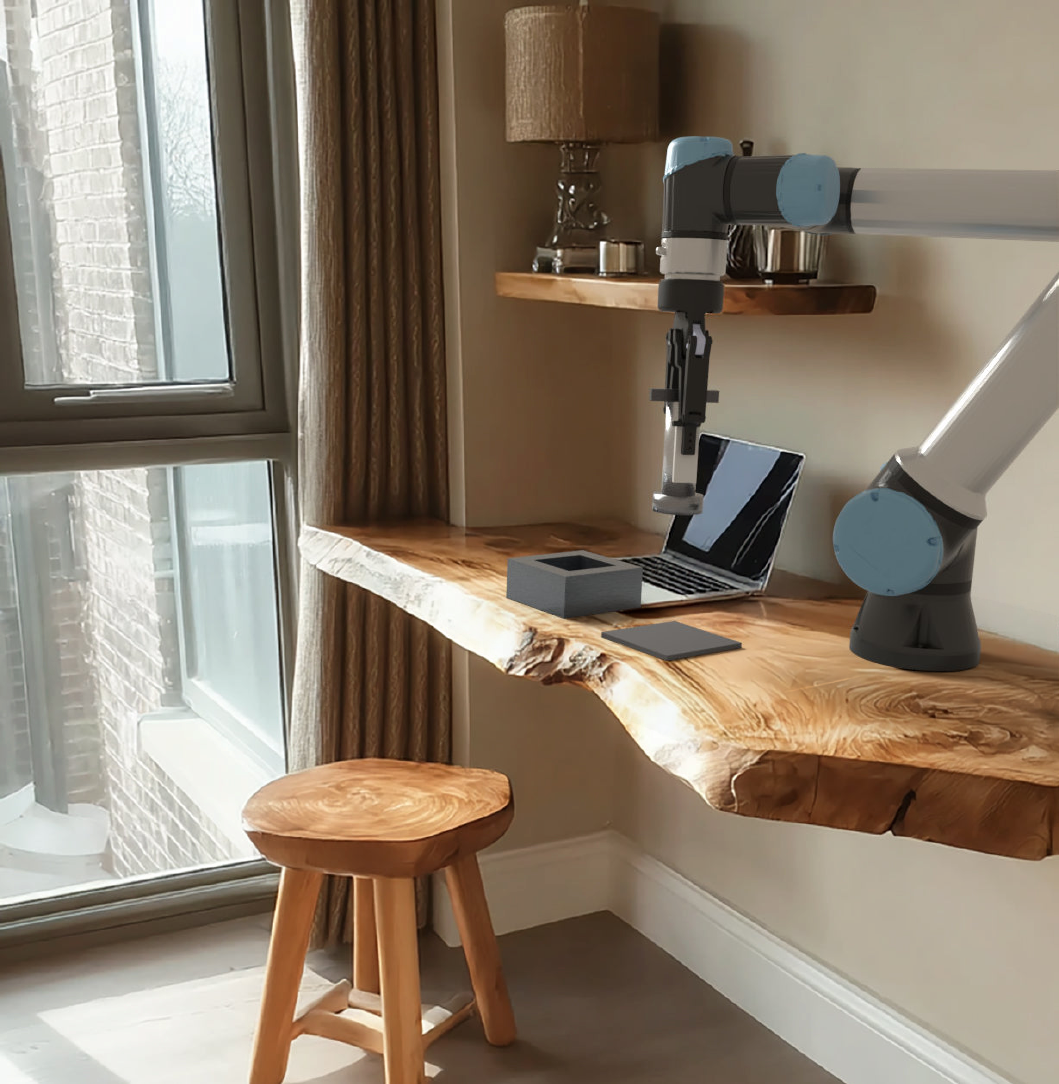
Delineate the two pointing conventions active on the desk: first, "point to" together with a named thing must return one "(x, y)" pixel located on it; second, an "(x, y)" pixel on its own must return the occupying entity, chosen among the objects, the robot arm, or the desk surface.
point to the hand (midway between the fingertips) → (679, 479)
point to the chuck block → (574, 583)
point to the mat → (671, 640)
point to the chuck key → (672, 494)
